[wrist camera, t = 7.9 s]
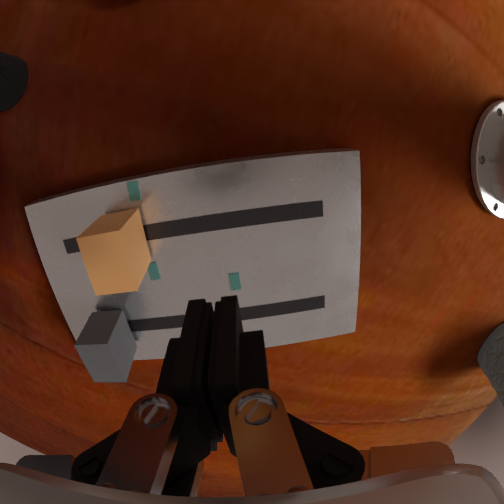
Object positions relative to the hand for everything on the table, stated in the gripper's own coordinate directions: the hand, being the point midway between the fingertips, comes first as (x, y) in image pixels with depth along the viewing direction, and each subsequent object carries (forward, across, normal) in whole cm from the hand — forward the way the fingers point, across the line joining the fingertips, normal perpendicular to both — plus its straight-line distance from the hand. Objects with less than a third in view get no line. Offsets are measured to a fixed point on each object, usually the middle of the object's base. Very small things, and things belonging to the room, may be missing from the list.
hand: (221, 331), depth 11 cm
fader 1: (+12, +8, 0) cm, 14 cm away
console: (+14, +3, +4) cm, 15 cm away
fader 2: (+11, +11, +8) cm, 18 cm away
